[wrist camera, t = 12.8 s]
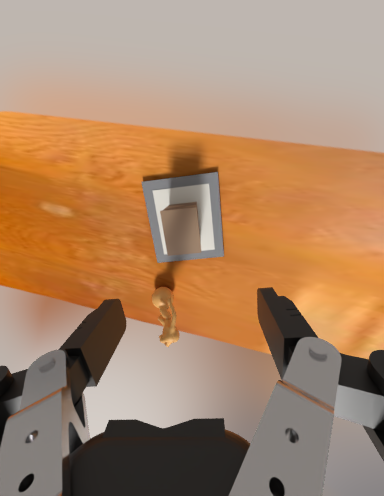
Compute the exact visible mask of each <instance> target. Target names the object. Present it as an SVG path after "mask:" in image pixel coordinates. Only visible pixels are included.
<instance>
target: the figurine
mask: <svg viewBox="0 0 384 496" xmlns="http://www.w3.org/2000/svg"><path fill="white" fill-rule="evenodd" d="M152 301H153V304H154V305H155V306H156V307H158V308H160V312H161V314H162V315H160V316H159V317H158V320H159V321H160V322H161V323H162V324H163V326H164V328H163V334H162V335H160V336H159V338H160V342H162V343H164V344H165V345H166V346H167V347H169V345H170V344H171V343H172V342H173V343H174V342H176V341H178V339H179V331H178V330H177V328H176V327H175V323H176V312H175V310H174V307H173V304H172V302H173V293H172V291H171V290H170V289H169V288H167V287H159V288H157V289H156V290H155V291H154V293H153V295H152ZM169 306H170V308H171V310H172V315H173V317H172V321H171V314H170V313H169V312H168V311H167V309H168V308H169Z"/></svg>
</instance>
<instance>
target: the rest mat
mask: <svg viewBox="0 0 384 496" xmlns="http://www.w3.org/2000/svg"><path fill="white" fill-rule="evenodd" d="M142 187H143V192H144V197H145V202H146V207H147V212H148V217H149V222H150V227H151V232H152V237H153V242H154V247H155V252H156V257H157V262H158V263H160V262H170V261H181V260H191V259H202V258H212V257H223V256H224V251H223V237H222V223H221V209H220V195H219V181H218V172H214V173H206V174H198V175H191V176H183V177H175V178H168V179H160V180H152V181H145V182H142ZM189 202H197V208H198V218H199V227H200V236H201V253H193V254H182V255H172V256H168V255H167V249H166V243H165V238H164V232H163V226H162V220H161V214H160V211H162V210H164V209H165V208H166V207H167V206H168V205H172V204H180V203H189Z"/></svg>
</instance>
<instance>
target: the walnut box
mask: <svg viewBox="0 0 384 496" xmlns="http://www.w3.org/2000/svg"><path fill="white" fill-rule="evenodd" d="M160 214H161V220H162V226H163V232H164V238H165V243H166V249H167V255H168V256H172V255H182V254H193V253H201V236H200V227H199V218H198V208H197V202H189V203H180V204H172V205H168V206H167V207H166V208H165V209H164V210H162V211H160Z"/></svg>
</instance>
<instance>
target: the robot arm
mask: <svg viewBox="0 0 384 496" xmlns="http://www.w3.org/2000/svg"><path fill="white" fill-rule="evenodd" d="M257 304H258V319H259V323H260V325H261V328H262V330H263V333H264V336H265V338H266V341H267V343H268V346H269V349H270V351H271V354H272V356H273V359H274V361H275V364H276V367H277V369H278V372H279V374H280V377H281V379H282V381H281V380H278V382H277V383H276V385H275V387H274V390H273V392H272V395H271V397H270V399H269V402H268V404H267V407H266V409H265V411H264V414H263V416H262V418H261V421H260V423H259V425H258V428H257V430H256V432H255V435H254V437H253V440H252V442H251V444H250V443H249V442H248V441H247V440H245V439H244V438H242V437H241V436H239V435H237V434H235V433H233V432H231V431H228V430H225V426H224V419H193V420H189V421H186V422H183V423H180V424H177V425H174V426H171V427H168V428H163V429H162V428H159V427H156V426H153V425H150V424H147V423H144V422H141V421H138V420H109V422H108V424H107V427H106V430H105V432H103V433H101V434H99V435H97V436H95V437H93V438H91V439H90V435H89V427H88V419H87V412H86V404H85V397H84V394H83V391H84V389H85V388H86V387H90V386H97V384H98V382H99V380H100V378H101V376H102V375H103V373H104V371H105V369H106V367H107V365H108V363H109V361H110V359H111V357H112V355H113V353H114V351H115V349H116V347H117V345H118V344H119V342H120V339H121V338H122V336H123V334H124V332H125V329H126V318H125V315H124V311H123V308H122V304H121V301H120V300H119V299H109V300H104V301H103V303H102V304H101V305H100V306H99V307H98V309H96V310H94V311H93V312H91V313H90V314H89V315H88V316H87V317H86V318H85V319H84V320H83V321H82V323H81V324H80V325H79V326H78V327H77V329H76V330H75V331H74V332H73V333H72V334H71V336H70V337H69V338H68V339H67V340H66V342H65V343H64V344H63V345H62V346H61V348H60V349H59V350H54V351H51V352H48V353H46V354H44V355H42V356H41V357H39V358H38V359H37V360H36V361H34V362H33V363H32V364H31V366H30V367H29V368H28V369H26V370H23V371H20V372H16V373H13V374H11V373H10V371H9V369H8V368H7V367H6V366H0V496H322V492H323V486H324V478H325V472H326V465H327V458H328V452H329V445H330V438H331V431H332V424H333V417H334V416H335V417H339V418H342V419H345V420H348V421H351V422H354V423H357V424H360V425H363V427H364V429H365V430H366V432H367V434H368V435H369V437H370V439H371V440H372V442H373V444H374V446H375V447H376V449H377V451H378V452H379V454H380V456H381V457H382V459H383V461H384V350H377V351H374V352H372V353H371V354H370V356H369V359H364V358H359V357H354V356H349V355H345V354H342V353H339V351H338V350H337V349H336V348H335V347H334V346H333V345H332V344H330V343H329V342H327V341H325V340H322V339H320V338H318V337H317V335H316V334H315V332H314V331H313V330H312V328H311V327H310V325H309V324H308V323H307V321H306V320H305V319H304V317H303V316H302V315H301V313H300V312H299V310H297V307H296V306H295V305H294V303H293V302H292V301H291V300H289V299H288V298H286V297H285V296H278V295H277V294H276V292H275V291H274V289H273V288H272V287H271V288H258V290H257Z"/></svg>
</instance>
